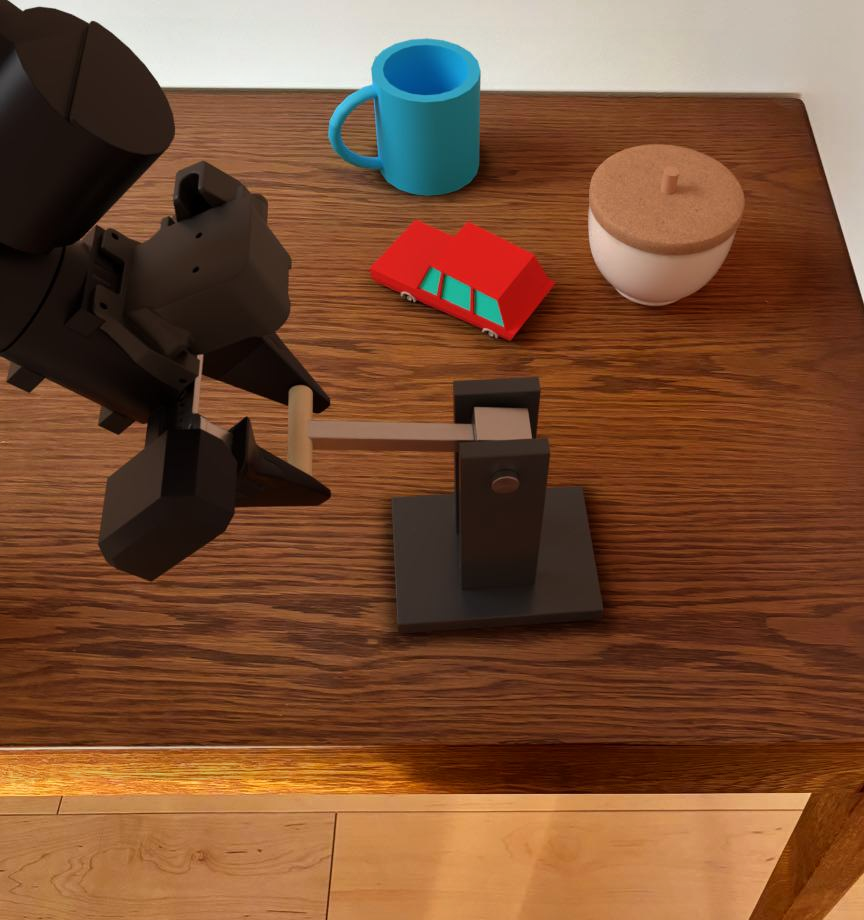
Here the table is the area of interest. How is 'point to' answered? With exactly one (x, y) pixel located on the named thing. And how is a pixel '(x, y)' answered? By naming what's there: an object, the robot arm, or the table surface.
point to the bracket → (495, 532)
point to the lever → (392, 431)
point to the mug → (420, 117)
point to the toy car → (465, 276)
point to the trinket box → (662, 221)
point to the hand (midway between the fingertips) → (325, 452)
